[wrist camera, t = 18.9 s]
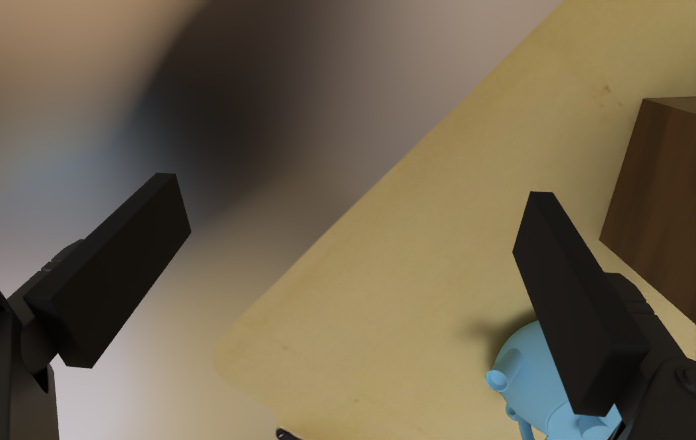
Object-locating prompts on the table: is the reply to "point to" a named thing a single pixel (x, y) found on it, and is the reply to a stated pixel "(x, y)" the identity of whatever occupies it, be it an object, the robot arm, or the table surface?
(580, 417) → the teapot
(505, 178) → the table surface
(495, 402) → the table surface
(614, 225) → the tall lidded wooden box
